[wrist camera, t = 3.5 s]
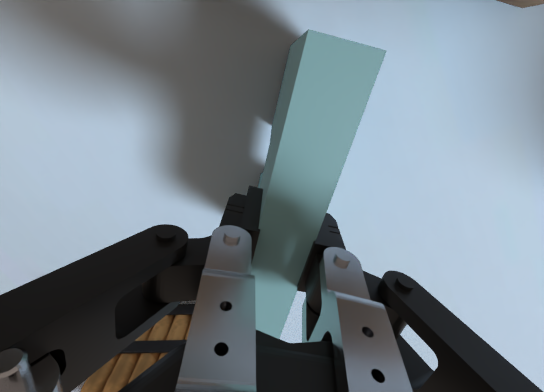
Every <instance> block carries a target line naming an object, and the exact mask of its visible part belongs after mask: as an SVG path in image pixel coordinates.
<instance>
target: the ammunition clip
mask: <svg viewBox="0 0 544 392" xmlns="http://www.w3.org/2000/svg"><path fill="white" fill-rule="evenodd" d="M194 307H195V304H179V305H178V306H177V307H176V308H175V309H174V310H172V311H171V312H170V313H169V314H167V315H166V316H165V317H164V318H162V319H161V320H160V321H159V322H157V323H156V324H155V325H154V326H152V327H151V328H150V329H149V330H147V331H146V332H145V333H144V334H142V335H141V336H140V337H139V338H137V339H136V340H135V341H134V342H132V343H131V344H130V345H129V346H127V347H126V348H125V349H123V350H122V351H121V352H120V353H118V354H117V355H116V356H115V357H113V358H112V359H111V360H110V361H108V362H107V363H106V364H105V365H103V366H102V367H101V368H100V369H98V370H97V371H96V372H95V373H93V374H92V375H91V376H90V377H88V378H87V380H86V382H85V383H84V385H83V387H82V389H81V392H118V391H119V390H120V389H122V388H123V387H124V386H126V385H127V384H128V383H130V382H131V381H132V380H133V379H135V378H136V377H137V376H139V375H140V374H141V373H143V372H144V371H145V370H146V369H148V368H149V367H150V366H152V365H153V364H154V363H156V362H157V361H158V360H159V359H161V358H162V357H163V356H165V355H166V354H167V353H169V352H170V351H171V350H173V349H174V348H176V347H178V346H179V345H181V344H183V343H185V342H187V337H188V333H189V329H190V324H191V320H192V316H193V311H194Z"/></svg>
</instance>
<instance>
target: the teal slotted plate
mask: <svg viewBox="0 0 544 392" xmlns="http://www.w3.org/2000/svg"><path fill="white" fill-rule="evenodd" d="M385 53H386V50H382V49H379V48H375V47H371V46H368V45H364V44H360V43H357V42H353V41H349V40H346V39H342V38H338V37H335V36H331V35H327V34H324V33H320V32H316V31H313V30H309V29H308V30H307V31H306V32H305V33H304V34H303V35H302V36H301V37H300V38H299V39H297V40H296V41H295V42H294V43H293V44H292V45H291V46H290V50H289V54H288V59H287V63H286V67H285V72H284V76H283V80H282V85H281V89H280V93H279V98H278V102H277V106H276V110H275V115H274V119H273V123H272V129H271V138H270V145H269V150H268V154H267V158H266V162H265V167H264V171H263V173H261V175H260V179H259V184H258V188H262V189H263V195H262V203H261V211H260V220H259V228H258V229H260V234H259V237H258V241H257V245H256V249H255V253H254V257H253V261H252V265H251V275H254V276H255V311H256V330H259V331H261V332H263V333H266V334H268V335H270V336H273V337H275V338H277V339H279V338H280V335H281V333H282V330H283V327H284V324H285V322H286V319H287V316H288V314H289V311H290V308H291V306H292V303H293V300H294V298H295V295H296V292H297V285H298V282H299V280H300V277H301V274H302V272H303V269H304V266H305V263H306V261H307V258H308V255H309V253H310V250H311V247H312V245H313V242H314V240H315V241H316V239H317V236H318V233H319V231H320V228H321V225H322V222H323V220H324V217H325V214H326V212H327V209H328V206H329V204H330V201H331V198H332V196H333V193H334V190H335V188H336V185H337V182H338V180H339V177H340V174H341V172H342V169H343V166H344V163H345V161H346V158H347V155H348V153H349V150H350V147H351V145H352V142H353V139H354V137H355V134H356V131H357V129H358V126H359V123H360V121H361V118H362V115H363V112H364V110H365V107H366V104H367V102H368V99H369V96H370V94H371V91H372V88H373V86H374V83H375V80H376V78H377V75H378V72H379V70H380V67H381V64H382V61H383V59H384V56H385Z"/></svg>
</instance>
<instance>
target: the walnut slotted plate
mask: <svg viewBox="0 0 544 392" xmlns="http://www.w3.org/2000/svg"><path fill="white" fill-rule="evenodd" d="M497 1H500V2H504V3H507V4H510V5H513V6H517V7H520V8H525V7H530V6H535V5H541V4H544V0H497Z"/></svg>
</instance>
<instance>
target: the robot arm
mask: <svg viewBox="0 0 544 392" xmlns="http://www.w3.org/2000/svg"><path fill="white" fill-rule="evenodd" d="M262 195H263V189H262V188H258V187H253V186H249V189H248V193H247V196H245V195H241V194H236V193H235V194H234V195H232V196H231V197H229V200H228V203H227V206H226V208H225V211H224V214H223V217H222V220H221V223H220V226H219V227H218V228H216V229H215V230H214V231H213V233H212V235H211V236H209V237H205V238H190V239H188V234H187V232H186V231H185V230H183V229H182V228H180V227H178V226H174V225H166V224H164V225H157V226H153V227H151V228H148V229H146V230H144V231H142V232H140V233H137V234H135V235H133V236H131V237H129V238H126V239H124V240H122V241H120V242H117V243H115V244H113V245H111V246H109V247H106V248H104V249H102V250H100V251H97V252H95V253H93V254H91V255H89V256H86V257H84V258H82V259H80V260H77V261H75V262H73V263H71V264H69V265H66V266H64V267H62V268H60V269H57V270H55V271H53V272H51V273H49V274H46V275H44V276H42V277H40V278H37V279H35V280H33V281H31V282H29V283H26V284H24V285H22V286H20V287H18V288H15V289H13V290H11V291H9V292H6V293H4V294H2V295H0V392H71V391H72V390H73V389H75V388H76V387H77V386H78V385H80V384H81V383H82V382H83V381H85V380H86V379H87V378H88V377H90V376H91V375H92V374H93V373H95V372H96V371H97V370H98V369H100V368H101V367H102V366H103V365H105V364H106V363H107V362H108V361H110V360H111V359H112V358H113V357H115V356H116V355H117V354H118V353H120V352H121V351H122V350H123V349H125V348H126V347H127V346H129V345H130V344H131V343H132V342H134V341H135V340H136V339H137V338H139V337H140V336H141V335H142V334H144V333H145V332H146V331H147V330H149V329H150V328H151V327H152V326H154V325H155V324H156V323H157V322H159V321H160V320H161V319H162V318H164V317H165V316H166V315H167V314H169V313H170V312H171V311H172V310H174V309H175V308H176V307H177V306H178V305H179V303H180V301H191V300H196V303H195V307H194V311H193V316H192V320H191V324H190V329H189V333H188V337H187V342H185V343H183V344H181V345H179V346H178V347H176V348H174V349H173V350H171V351H170V352H169V353H167V354H166V355H165V356H163V357H162V358H161V359H159V360H158V361H157V362H156V363H154V364H153V365H152V366H150V367H149V368H148V369H146V370H145V371H144V372H143V373H141V374H140V375H139V376H137V377H136V378H135V379H133V380H132V381H131V382H130V383H128V384H127V385H126V386H124V387H123V388H122V389H120V390H119V391H118V392H543V391H542V390H540V389H539V388H538V387H537V386H536V385H535V384H534V383H532V382H531V381H530V380H529V379H528V378H527V377H525V376H524V375H523V374H522V373H521V372H520V371H519V370H517V369H516V368H515V367H514V366H513V365H512V364H510V363H509V362H508V361H507V360H506V359H505V358H504V357H502V356H501V355H500V354H499V353H498V352H497V351H495V350H494V349H493V348H492V347H491V346H490V345H489V344H487V343H486V342H485V341H484V340H483V339H482V338H480V337H479V336H478V335H477V334H476V333H475V332H474V331H472V330H471V329H470V328H469V327H468V326H467V325H466V324H464V323H463V322H462V321H461V320H460V319H459V318H457V317H456V316H455V315H454V314H453V313H452V312H451V311H449V310H448V309H447V308H446V307H445V306H444V305H442V304H441V303H440V302H439V301H438V300H437V299H436V298H434V297H433V296H432V295H431V294H430V293H429V292H427V291H426V290H425V289H424V288H423V287H422V286H421V285H419V284H418V283H417V282H416V281H415V280H413V279H412V278H411V277H409V276H407V275H405V274H403V273H400V272H397V271H387V272H386V273H385V274H384V276H383V277H382V279H381V278H379V277H376V276H374V275H372V274H369V273H367V272H365V271H363V270H362V267H361V264H360V261H359V260H358V259H357V257H356V256H355V255H353V254H352V253H350V252H349V251H347V250H346V249H345V246H344V243H343V240H342V237H341V235H340V231H339V229H338V225H337V222H336V220H335V219H334V218H333V217H332V216H331V215H330V214H328V213H326V214H325V217H324V220H323V222H322V225H321V228H320V231H319V233H318V236H317V239H316V241H315V240H314V242H313V245H312V247H311V250H310V253H309V255H308V258H307V261H306V263H305V266H304V269H303V272H302V274H301V277H300V280H299V282H298V285H297V291H303V292H306V298H305V300H304V303H303V307H302V343H287V342H285V341H282V340H280V339H277V338H275V337H273V336H270V335H268V334H266V333H263V332H261V331H259V330H256V311H255V276H254V275H251V265H252V261H253V257H254V253H255V249H256V245H257V241H258V237H259V234H260V229H258V228H259V220H260V211H261V203H262ZM407 324H408V325H409V326H410V327H411V328H412V329H413V330H414V331H415V332H416V333H417V334H418V336H419V337H420V338H421V339H422V340H423V341H424V342H425V343H426V344H427V345H428V346H429V347H430V348H431V349H432V350H433V351H434V353H435V354H436V356H437V359H438V367H437V369H436V370H435V371H433V370H432V369H431V368H430V367H429V366H428V365H427V364H426V363H425V362H424V360H423V359H422V358H421V357H420V356H419V355H418V354H417V353H416V352H415V351H414V350H413V348H412V347H411V346H410V345H409V344H408V343H407V342H406V341H405V340H404V339H403V338H402V336H401V335H400V334H401V332H402V331H403V329H404V328H405V326H406V325H407Z"/></svg>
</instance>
